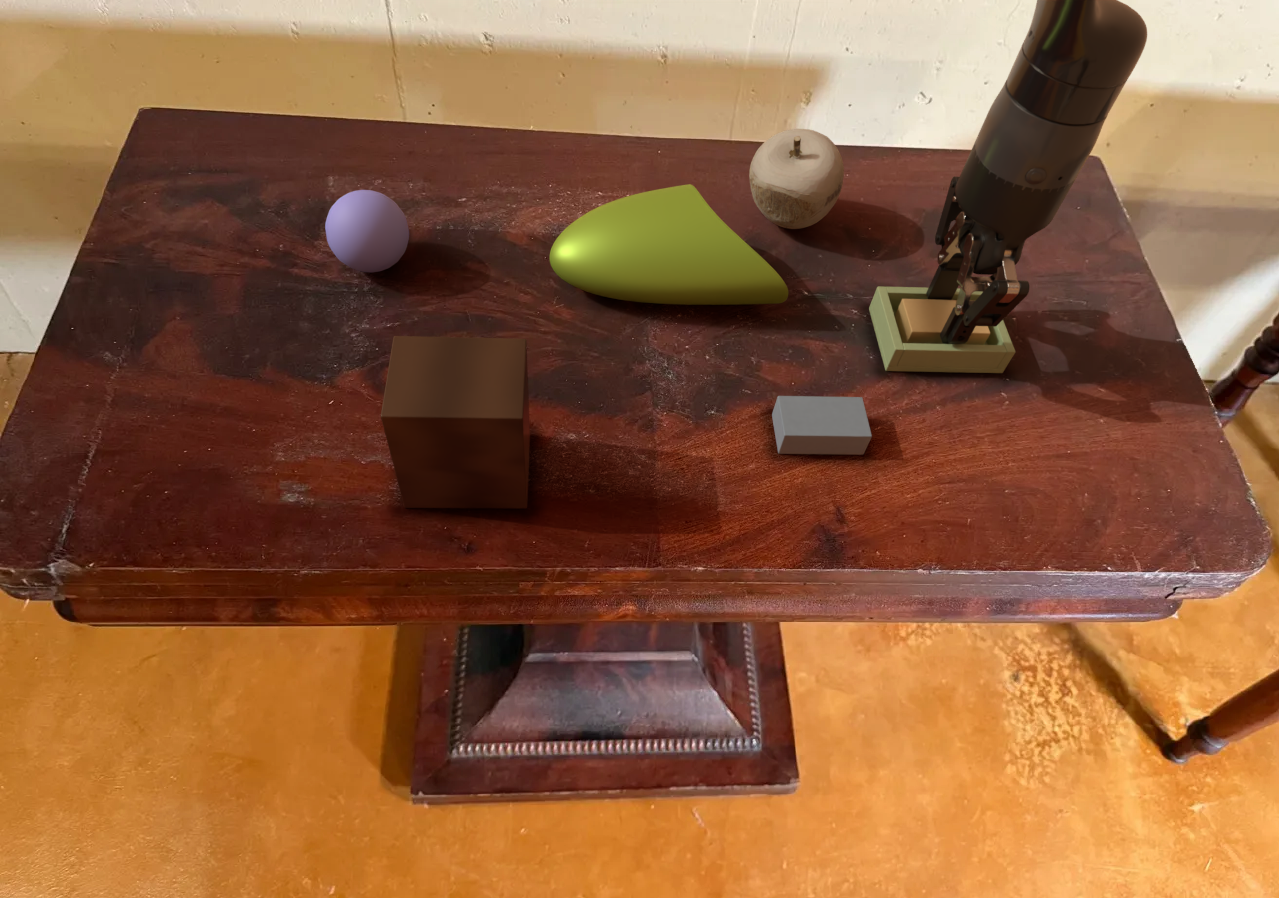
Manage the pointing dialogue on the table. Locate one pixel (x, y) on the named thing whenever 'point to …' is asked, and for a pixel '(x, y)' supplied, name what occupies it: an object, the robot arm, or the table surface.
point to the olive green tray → (934, 355)
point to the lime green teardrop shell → (663, 253)
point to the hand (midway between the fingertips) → (944, 318)
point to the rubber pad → (821, 425)
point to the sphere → (367, 231)
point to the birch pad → (930, 321)
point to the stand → (458, 421)
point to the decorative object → (796, 177)
